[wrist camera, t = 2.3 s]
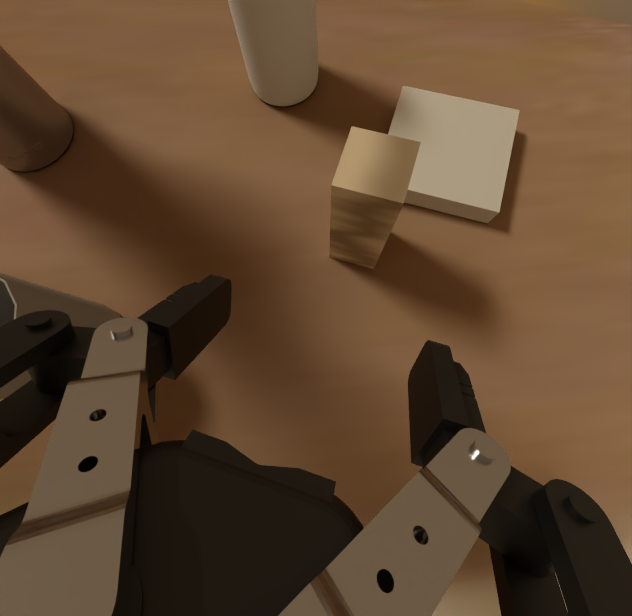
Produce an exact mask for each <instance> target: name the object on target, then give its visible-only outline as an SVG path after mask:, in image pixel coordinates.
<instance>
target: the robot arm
mask: <svg viewBox="0 0 632 616" xmlns="http://www.w3.org/2000/svg"><path fill="white" fill-rule="evenodd" d="M72 134H73V124H72V120H71V118H70V116H69V115H68V113H67V112H66V111H65V110H64V109H63V108H62V107H61V106H60V105H59V104H58V103H57V102H56V101H55V100H54V99H53V98H52V97H51V96H50V95H49V94H48V93H47V92H46V91H45V90H44V89H43V88H42V87H41V86H40V85H39V84H38V83H37V82H36V81H35V80H34V79H33V78H32V77H31V76H30V75H29V74H28V73H27V72H26V71H25V70H24V69H23V68H22V67H21V66H20V65H19V64H18V63H17V62H16V61H15V60H14V59H13V58H12V57H11V56H10V55H9V54H8V53H7V52H6V51H5V50H4V49H3V48H2V47H1V46H0V164H1V165H3V166H4V167H6V168H8V169H11V170H14V171H22V172H25V171H33V170H37V169H40V168H42V167H45V166H47V165H49V164H50V163H52V162H53V161H55V160H56V159H57V158H58V157H59V156H61V155H62V154H63V152H64V151H65V150H66V148H67V147H68V145H69V143H70V141H71V139H72ZM230 312H231V281H230V280H229V279H226V278H222V277H219V276H216V275H209V276H208V277H206V278H205V279H204V280H202V281H201V282H200V283H197V282H195V283H192V284H189V285H186V286H183V287H182V288H180V289H179V290H177V291H176V292H174V294H171V295H170V296H169V297H167V298H166V300H163V301H161V302H160V303H158V304H157V305H156V306H154V307H153V308H151V309H150V310H148V311H147V312H146V313H144V314H143V315H141V316H140V317H138V318H131V317H124V318H117V319H113V320H110V321H107V322H105V323H103V324H102V325H100V326H99V327H98V328H91V327H78V326H72V323H71V320H70V317H69V316H68V315H67V314H66V313H64V312H62V311H56V310H43V311H37V312H32V313H29V314H26V315H23V316H20V317H18V318H16V319H14V320H12V321H10V322H8V323H7V324H5V325H3V326H1V327H0V388H1V387H3V386H4V385H6V384H7V383H9V382H10V381H12V380H13V379H15V378H16V377H17V376H19V375H20V374H22V373H23V372H25V371H26V370H27V371H28V373H29V375H30V376H31V378H32V380H30V381H29V382H27V383H26V384H25V385H23V386H22V387H20V388H19V389H18V390H16V391H15V392H13V393H12V394H11V395H9V396H8V397H6V398H5V399H4V400H2V401H1V402H0V468H1V467H2V466H3V465H4V464H5V463H7V462H8V461H9V460H10V459H11V458H12V457H13V456H14V455H16V454H17V453H18V452H19V451H20V450H21V449H22V448H23V447H25V446H26V445H27V444H28V443H29V442H30V441H31V440H32V439H34V438H35V437H36V436H37V435H38V434H39V433H40V432H41V431H43V430H44V429H45V428H46V427H47V426H48V425H49V424H50V423H52V422H53V421H54V420H55V419H56V421H55V424H54V427H53V430H52V433H51V436H50V439H49V442H48V445H47V448H46V451H45V454H44V458H43V461H42V464H41V467H40V470H39V473H38V476H37V479H36V482H35V485H34V488H33V492H32V495H31V498H30V501H29V502H27V503H25V504H23V505H21V506H19V507H17V508H15V509H13V510H11V511H9V512H6V513H4V514H2V515H0V616H431V615H432V614H433V612H434V610H435V609H436V607H437V605H438V604H439V602H440V600H441V598H442V597H443V595H444V593H445V592H446V590H447V588H448V587H449V585H450V583H451V582H452V580H453V578H454V577H455V575H456V573H457V572H458V570H459V568H460V567H461V565H462V563H463V561H464V560H465V558H466V556H467V555H468V553H469V551H470V550H471V548H472V546H473V545H474V543H475V541H476V540H477V538H478V537H479V538H481V539H482V540H484V541H485V542H486V543H488V544H489V548H490V553H491V559H492V564H493V570H494V576H495V581H496V587H497V593H498V598H499V604H500V610H501V615H502V616H632V564H631V562H630V560H629V558H628V556H627V554H626V552H625V550H624V548H623V546H622V544H621V542H620V540H619V538H618V536H617V534H616V532H615V530H614V528H613V526H612V524H611V522H610V521H609V519H608V517H607V516H606V514H605V513H604V511H603V510H602V509H601V508H600V507H599V505H598V504H597V503H596V502H595V501H594V500H593V499H592V498H591V497H590V496H588V495H587V494H586V493H585V492H584V491H582V490H581V489H579V488H578V487H576V486H574V485H573V484H571V483H569V482H566V481H563V480H559V479H553V480H550V481H549V482H548V483H546V484H545V485H544V486H543V485H541V484H540V483H538V482H536V481H535V480H533V479H531V478H530V477H528V476H526V475H525V474H523V473H521V472H520V471H518V470H517V469H515V468H514V467H512V466H511V465H510V461H509V458H508V456H507V454H506V453H505V451H504V450H503V448H502V447H501V446H500V445H499V444H498V443H497V442H496V441H495V440H494V439H493V438H492V437H490V436H489V435H487V434H486V431H485V428H484V424H483V421H482V418H481V415H480V411H479V408H478V405H477V401H476V399H475V395H474V391H473V389H472V385H471V381H470V378H469V375H468V374H467V372H466V371H465V370H464V368H463V367H462V366H461V364H460V363H457V362H454V361H453V358H452V354H451V350H450V347H449V346H447V345H444V344H440V343H437V342H434V341H430V340H428V341H427V342H426V343H425V344H424V346H423V348H422V350H421V352H420V354H419V356H418V358H417V359H416V361H415V363H414V365H413V367H412V369H411V371H410V375H409V379H408V397H409V420H410V443H411V463H413V464H416V465H419V466H422V467H423V468H422V469H421V470H420V471H419V472H418V473H417V474H416V475H415V476H414V477H413V478H412V479H411V480H410V481H409V482H408V483H407V484H406V485H405V486H404V487H403V488H402V489H401V490H400V491H399V492H398V493H397V495H396V496H395V497H394V498H393V499H392V500H391V501H390V502H389V503H388V504H387V505H386V506H385V507H384V508H383V509H382V510H381V511H380V512H379V513H378V514H377V515H376V516H375V517H374V518H373V520H372V521H371V522H370V523H369V524H368V525H367V526H366V527H365V528H364V527H363V525H362V524H361V522H360V521H359V519H358V518H357V517H356V515H355V514H354V513H353V512H352V510H351V509H350V508H349V507H348V506H347V505H346V504H345V503H344V502H343V501H342V500H341V499H339V498H338V497H337V496H335V495H334V489H335V483H336V482H335V481H332V480H330V479H327V478H324V477H321V476H319V475H316V474H313V473H310V472H308V471H305V470H302V469H299V468H288V467H275V466H263V465H258V464H256V463H254V462H253V461H252V460H250V459H249V458H248V457H246V456H245V455H243V454H242V453H241V452H239V451H238V450H237V449H235V448H234V447H233V446H231V445H230V444H228V443H227V442H225V441H222V440H219V439H217V438H214V437H211V436H208V435H206V434H203V433H200V432H197V431H195V430H192V431H191V433H190V434H189V436H188V437H187V438H186V440H185V441H184V440H176V441H166V442H160V443H158V440H157V402H158V384H157V381H158V380H159V379H160V378H161V377H162V376H165V377H168V378H171V379H174V380H175V379H176V378H177V377H178V376H179V375H180V374H181V373H182V372H183V371H184V370H185V369H186V367H187V366H188V365H189V364H190V363H191V362H192V361H193V360H194V359H195V358H196V357H197V355H198V354H199V353H200V352H201V351H202V350H203V349H204V348H205V347H206V346H207V345H208V343H209V342H210V341H211V340H212V339H213V338H214V337H215V336H216V335H217V334H218V333H219V331H220V330H221V329H222V328H223V327H224V326H225V325H226V323H227V322H228V319H229V317H230ZM555 572H556V575H557V578H558V581H559V584H560V587H559V584H558V581H557V578H556V575H555ZM560 588H561V590H560ZM561 591H562V594H563V597H564V600H565V603H566V606H567V609H566V606H565V603H564V600H563V597H562V594H561ZM567 610H568V612H567Z"/></svg>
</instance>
